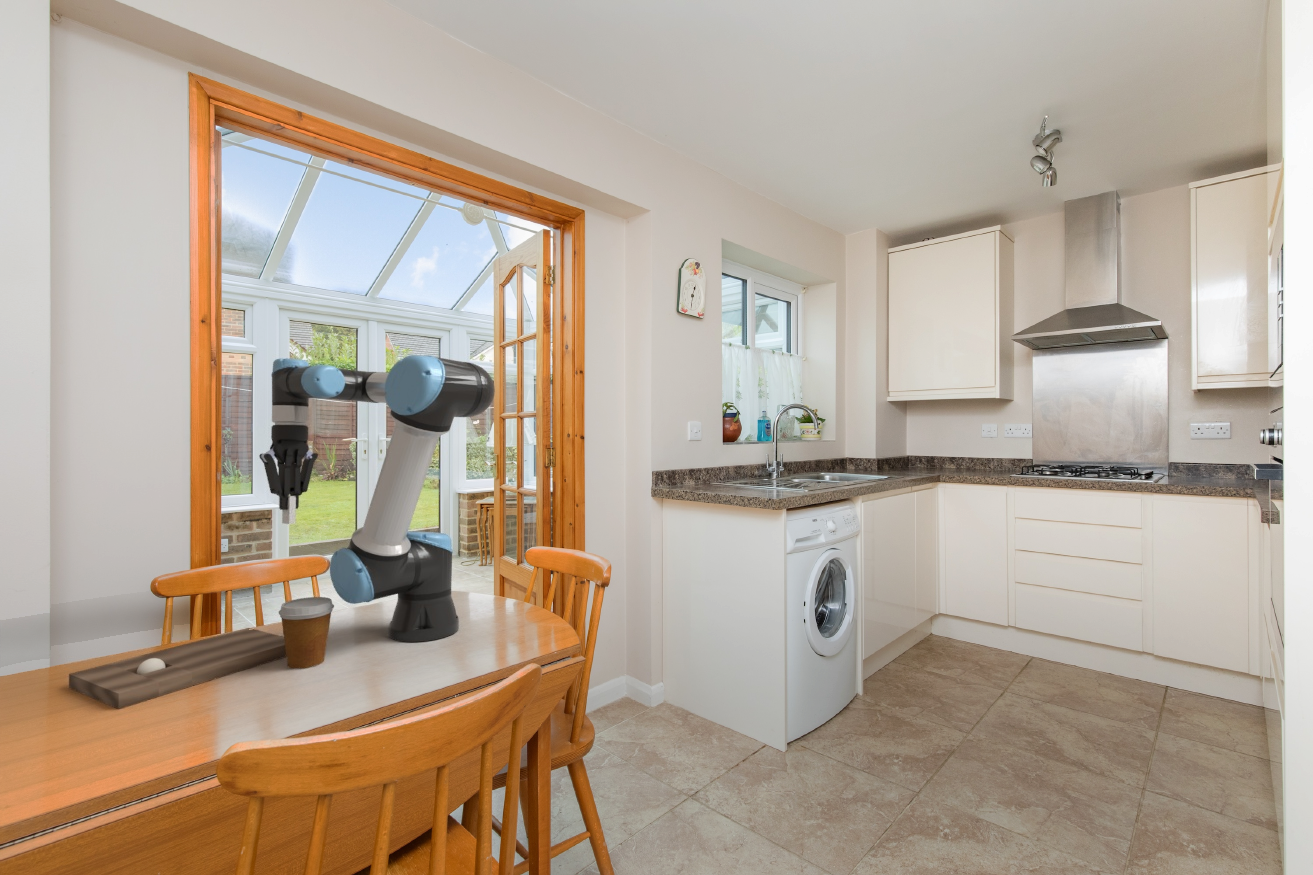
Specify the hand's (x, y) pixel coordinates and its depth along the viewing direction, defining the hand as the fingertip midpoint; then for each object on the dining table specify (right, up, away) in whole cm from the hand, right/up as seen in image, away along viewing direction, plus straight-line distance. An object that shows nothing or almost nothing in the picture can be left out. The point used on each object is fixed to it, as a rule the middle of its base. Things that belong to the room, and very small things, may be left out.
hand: (288, 523), depth 143 cm
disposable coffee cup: (+18, -25, -24) cm, 39 cm away
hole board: (-2, -24, -27) cm, 37 cm away
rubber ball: (-5, -22, -33) cm, 40 cm away
